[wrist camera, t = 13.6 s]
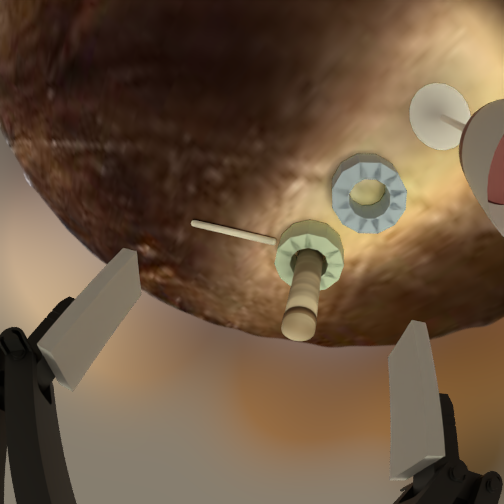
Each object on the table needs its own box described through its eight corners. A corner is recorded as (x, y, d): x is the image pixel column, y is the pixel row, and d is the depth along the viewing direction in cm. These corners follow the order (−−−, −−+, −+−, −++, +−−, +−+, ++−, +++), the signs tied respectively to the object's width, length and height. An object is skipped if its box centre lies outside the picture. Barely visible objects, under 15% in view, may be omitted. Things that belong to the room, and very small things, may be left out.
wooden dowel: (301, 235, 44) (284, 313, 31) (326, 241, 44) (319, 322, 31) (296, 256, 46) (278, 336, 33) (320, 262, 46) (310, 344, 33)
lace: (192, 218, 47) (190, 221, 46) (277, 237, 45) (276, 241, 45) (192, 223, 48) (189, 226, 47) (276, 243, 46) (275, 247, 45)
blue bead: (330, 153, 37) (330, 162, 34) (401, 154, 35) (408, 163, 32) (333, 218, 42) (332, 232, 39) (397, 219, 39) (403, 234, 36)
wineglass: (484, 134, 30) (596, 212, 11) (423, 164, 35) (501, 269, 16) (455, 69, 27) (576, 86, 8) (391, 99, 32) (466, 139, 13)
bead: (286, 213, 43) (281, 227, 40) (350, 229, 42) (351, 244, 39) (275, 266, 48) (270, 282, 45) (332, 280, 47) (331, 297, 44)
